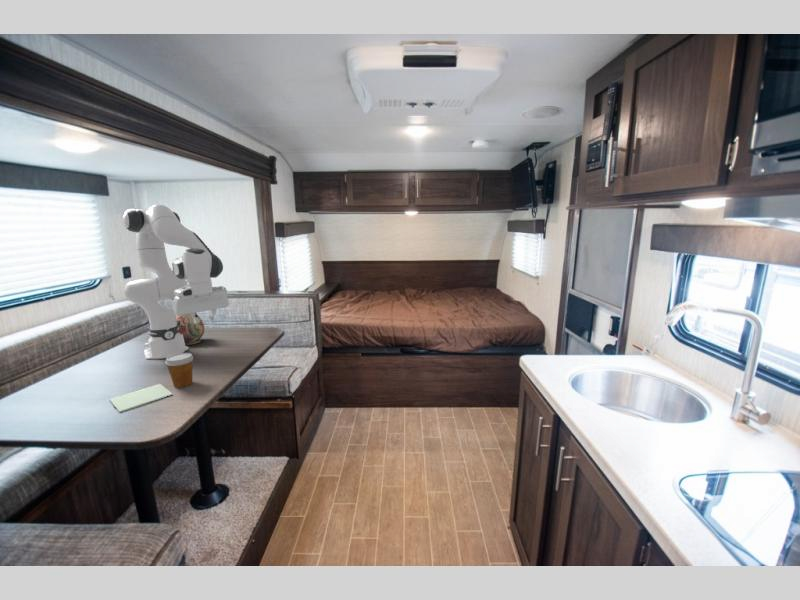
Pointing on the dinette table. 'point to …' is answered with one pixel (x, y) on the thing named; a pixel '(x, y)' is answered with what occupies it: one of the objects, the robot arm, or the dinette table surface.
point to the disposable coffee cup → (180, 369)
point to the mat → (139, 397)
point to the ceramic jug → (190, 328)
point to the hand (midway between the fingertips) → (204, 321)
